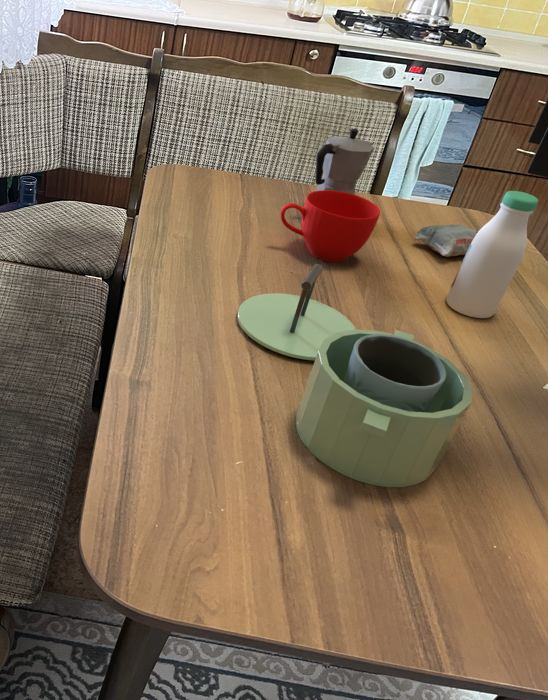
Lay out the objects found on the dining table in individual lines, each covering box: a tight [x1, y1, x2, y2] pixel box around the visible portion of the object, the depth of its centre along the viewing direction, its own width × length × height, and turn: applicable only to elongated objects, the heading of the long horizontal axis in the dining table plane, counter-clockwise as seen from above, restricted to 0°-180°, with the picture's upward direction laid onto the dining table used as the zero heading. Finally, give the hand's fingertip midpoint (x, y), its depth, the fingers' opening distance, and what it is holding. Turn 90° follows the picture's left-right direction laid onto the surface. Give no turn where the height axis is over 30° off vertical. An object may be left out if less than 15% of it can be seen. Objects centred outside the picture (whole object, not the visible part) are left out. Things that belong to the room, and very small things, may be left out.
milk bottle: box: [445, 190, 539, 319], centre depth 110 cm, size 8×8×20 cm
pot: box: [295, 328, 473, 488], centre depth 82 cm, size 17×22×10 cm
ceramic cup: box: [279, 190, 381, 263], centre depth 125 cm, size 13×17×10 cm
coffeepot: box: [314, 128, 375, 195], centre depth 139 cm, size 15×9×18 cm, turn 122°
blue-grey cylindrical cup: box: [344, 334, 446, 412], centre depth 80 cm, size 10×10×12 cm
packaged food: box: [414, 223, 479, 258], centre depth 132 cm, size 9×12×5 cm
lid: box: [237, 263, 357, 362], centre depth 102 cm, size 18×18×10 cm
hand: (540, 159), depth 76 cm, fingers open, 13 cm apart
